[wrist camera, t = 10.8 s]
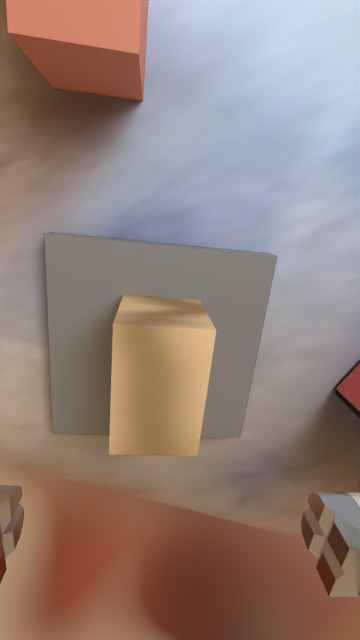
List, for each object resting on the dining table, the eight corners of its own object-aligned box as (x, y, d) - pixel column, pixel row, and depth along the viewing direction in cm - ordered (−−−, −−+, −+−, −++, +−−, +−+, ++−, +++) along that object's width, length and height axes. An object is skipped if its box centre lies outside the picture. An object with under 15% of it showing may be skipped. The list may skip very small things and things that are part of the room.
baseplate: (269, 253, 19) (277, 256, 18) (235, 427, 23) (240, 438, 22) (51, 232, 17) (44, 233, 16) (57, 421, 21) (52, 433, 20)
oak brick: (199, 299, 18) (216, 330, 13) (187, 400, 20) (197, 455, 16) (123, 293, 18) (113, 323, 13) (119, 397, 20) (108, 454, 15)
